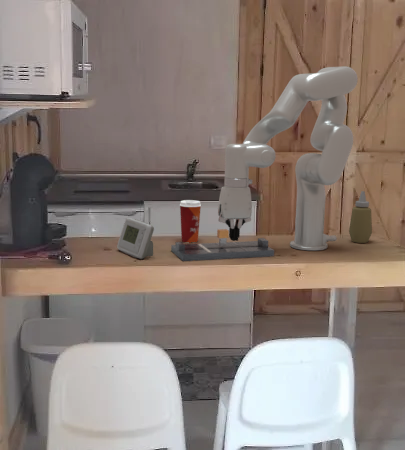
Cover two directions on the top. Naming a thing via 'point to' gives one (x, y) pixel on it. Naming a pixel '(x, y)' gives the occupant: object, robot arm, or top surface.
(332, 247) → the top surface
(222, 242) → the fader tab
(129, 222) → the digital clock
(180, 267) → the top surface
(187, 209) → the paper cup
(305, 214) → the robot arm
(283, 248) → the top surface
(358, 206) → the squeeze bottle
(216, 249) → the grey slider board
